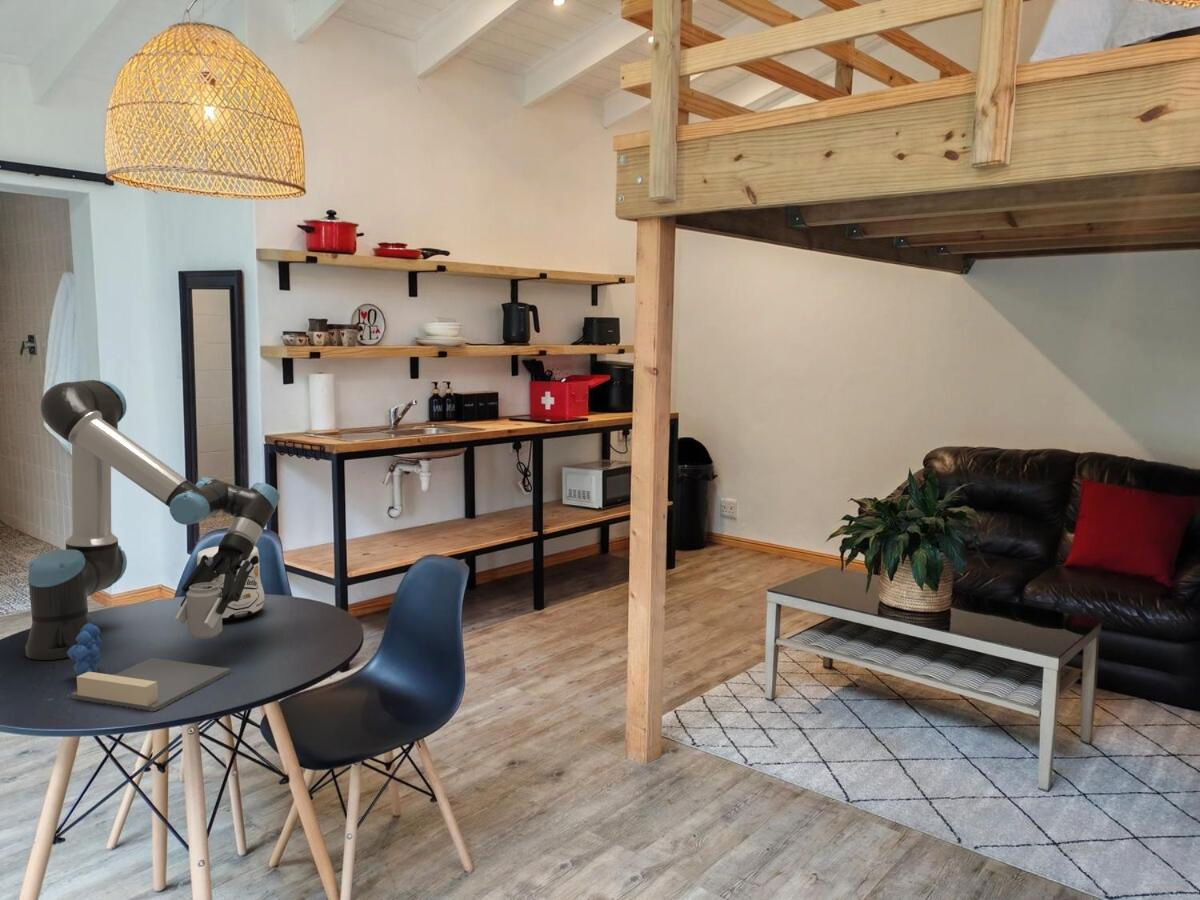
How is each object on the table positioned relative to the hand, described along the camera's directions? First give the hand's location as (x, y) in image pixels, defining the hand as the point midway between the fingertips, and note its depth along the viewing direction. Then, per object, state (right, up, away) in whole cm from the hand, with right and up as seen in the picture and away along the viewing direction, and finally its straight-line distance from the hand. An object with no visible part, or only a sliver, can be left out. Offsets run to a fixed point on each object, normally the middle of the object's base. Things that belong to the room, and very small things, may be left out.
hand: (193, 623), depth 203 cm
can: (+1, -4, +4) cm, 5 cm away
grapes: (-21, -11, -6) cm, 25 cm away
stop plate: (-4, -11, -11) cm, 16 cm away
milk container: (-7, -5, +38) cm, 39 cm away
